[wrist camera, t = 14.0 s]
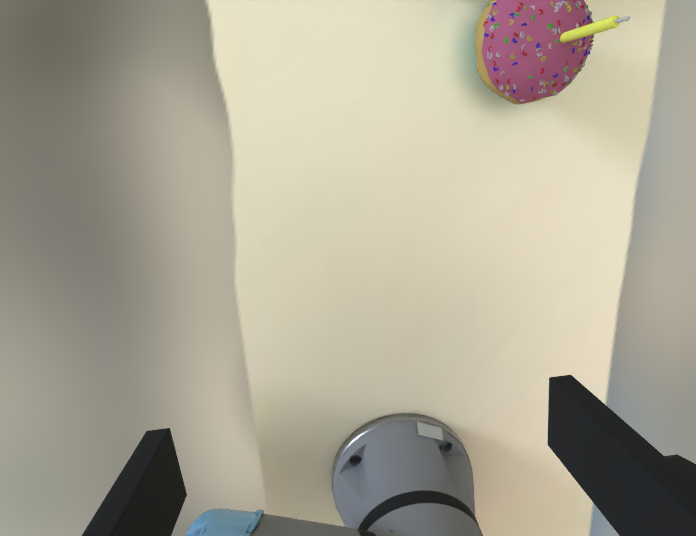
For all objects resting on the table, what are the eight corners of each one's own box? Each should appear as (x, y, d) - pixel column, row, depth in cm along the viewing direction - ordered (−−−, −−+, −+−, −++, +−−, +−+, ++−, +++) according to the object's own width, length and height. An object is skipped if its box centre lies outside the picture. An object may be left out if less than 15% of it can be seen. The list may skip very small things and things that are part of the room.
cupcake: (567, 7, 35) (689, -62, 23) (542, 115, 37) (641, 100, 26) (468, -10, 34) (543, -90, 22) (448, 101, 36) (507, 80, 25)
